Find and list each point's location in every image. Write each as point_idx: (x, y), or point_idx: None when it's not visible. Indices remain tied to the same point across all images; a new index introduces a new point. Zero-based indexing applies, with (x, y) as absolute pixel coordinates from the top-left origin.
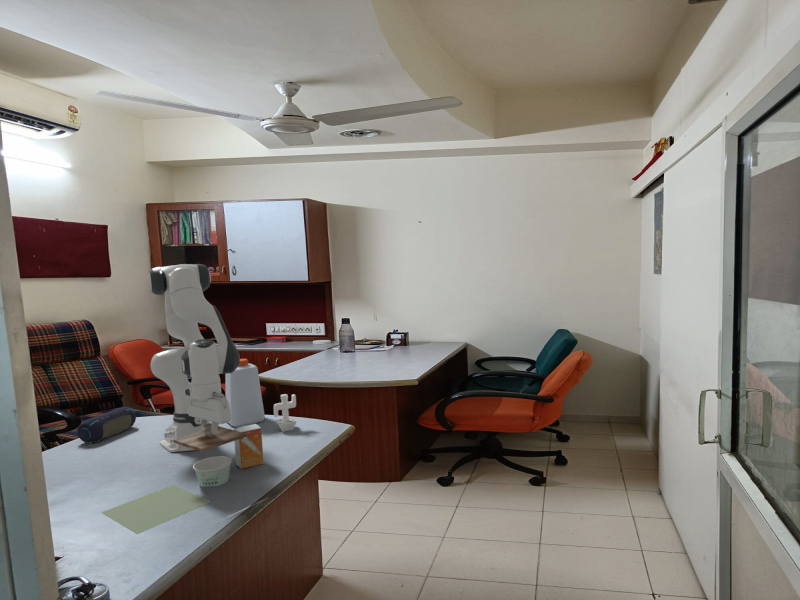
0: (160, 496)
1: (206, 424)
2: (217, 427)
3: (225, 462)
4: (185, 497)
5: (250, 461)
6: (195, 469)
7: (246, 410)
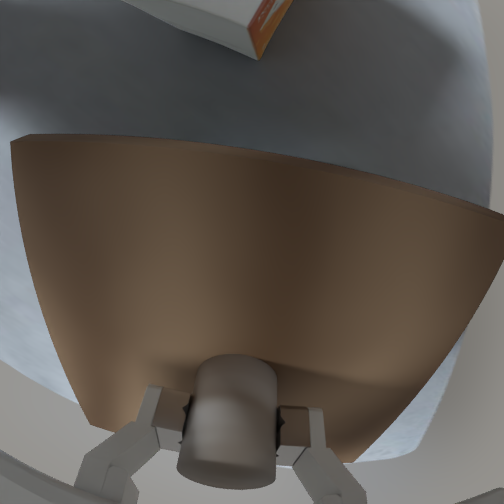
0: None
1: (192, 475)
2: (333, 455)
3: None
4: None
5: (282, 16)
6: None
7: None
